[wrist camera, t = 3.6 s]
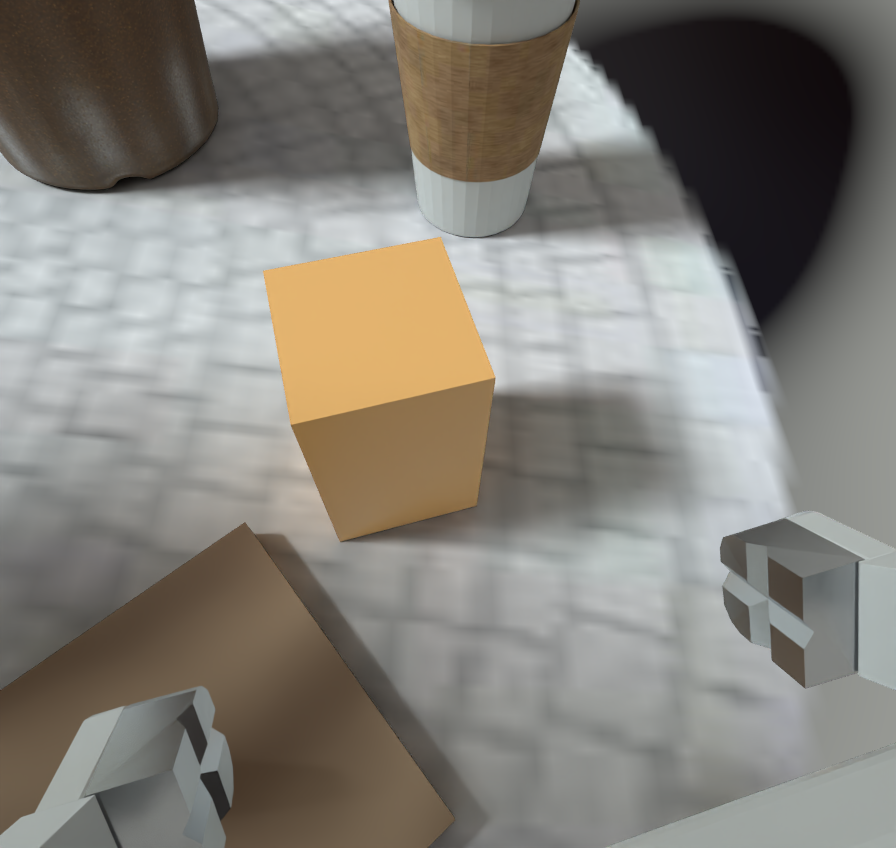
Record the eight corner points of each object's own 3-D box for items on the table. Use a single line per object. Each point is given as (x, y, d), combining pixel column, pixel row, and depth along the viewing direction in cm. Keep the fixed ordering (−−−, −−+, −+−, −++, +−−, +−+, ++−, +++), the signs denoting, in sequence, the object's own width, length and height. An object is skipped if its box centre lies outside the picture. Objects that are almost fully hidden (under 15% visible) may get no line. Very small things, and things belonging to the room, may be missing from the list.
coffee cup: (394, 151, 35) (369, -217, 22) (540, 149, 35) (599, -215, 22) (393, 256, 31) (360, -121, 18) (558, 254, 31) (645, -120, 18)
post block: (-74, 762, 19) (-270, 757, 14) (253, 533, 23) (198, 461, 18) (81, 1190, 15) (-120, 1427, 10) (454, 817, 19) (461, 834, 13)
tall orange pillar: (339, 541, 23) (290, 425, 15) (315, 422, 26) (263, 270, 18) (476, 506, 24) (495, 377, 16) (439, 393, 27) (440, 236, 19)
